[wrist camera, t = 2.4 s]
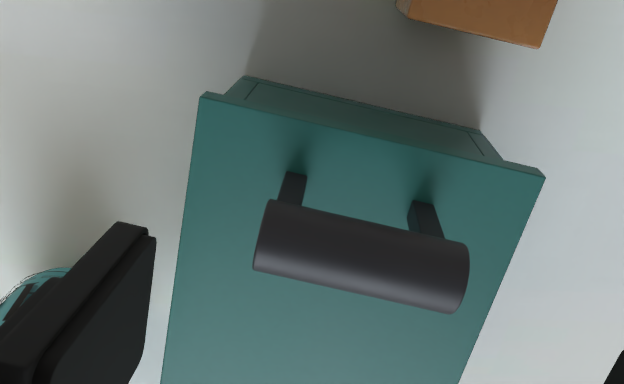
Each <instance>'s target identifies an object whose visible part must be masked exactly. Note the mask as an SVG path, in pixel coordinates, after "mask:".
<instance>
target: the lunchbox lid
mask: <svg viewBox="0 0 624 384" xmlns="http://www.w3.org/2000/svg"><path fill="white" fill-rule="evenodd" d="M545 179H546V177H545V176H544V175H543V174H542V173H541V171H540V170H539V169H538V168H534V167H530V166H526V165H521V164H517V163H513V162H508V161H504V160H500V159H496V158H491V157H487V156H483V155H478V154H474V153H470V152H466V151H461V150H457V149H453V148H448V147H444V146H440V145H436V144H431V143H427V142H423V141H419V140H414V139H410V138H406V137H401V136H397V135H393V134H389V133H384V132H380V131H376V130H371V129H367V128H363V127H359V126H354V125H350V124H346V123H341V122H337V121H333V120H329V119H324V118H320V117H316V116H311V115H307V114H303V113H299V112H294V111H290V110H286V109H282V108H277V107H273V106H269V105H264V104H260V103H256V102H252V101H247V100H243V99H239V98H234V97H230V96H226V95H222V94H217V93H213V92H209V91H206V92H205V93H204V94H202V95H201V96H200V98H199V105H198V112H197V119H196V127H195V134H194V141H193V148H192V156H191V163H190V170H189V178H188V185H187V192H186V199H185V207H184V214H183V221H182V228H181V236H180V243H179V250H178V258H177V265H176V272H175V279H174V287H173V294H172V301H171V309H170V316H169V323H168V330H167V338H166V345H165V352H164V360H163V367H162V374H161V381H160V384H458V382H459V380H460V378H461V375H462V373H463V371H464V368H465V366H466V364H467V361H468V359H469V357H470V354H471V352H472V350H473V347H474V345H475V343H476V340H477V338H478V336H479V333H480V331H481V329H482V326H483V324H484V322H485V319H486V317H487V315H488V312H489V310H490V308H491V305H492V303H493V301H494V298H495V296H496V294H497V291H498V289H499V286H500V284H501V282H502V279H503V277H504V275H505V272H506V270H507V268H508V265H509V263H510V261H511V258H512V256H513V254H514V251H515V249H516V247H517V244H518V242H519V240H520V237H521V235H522V233H523V230H524V228H525V226H526V223H527V221H528V219H529V216H530V214H531V212H532V209H533V207H534V205H535V202H536V200H537V198H538V195H539V193H540V191H541V188H542V186H543V184H544V181H545Z"/></svg>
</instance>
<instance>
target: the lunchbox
mask: <svg viewBox="0 0 624 384" xmlns="http://www.w3.org/2000/svg"><path fill="white" fill-rule="evenodd" d="M224 95H226V96H230V97H234V98H239V99H243V100H247V101H252V102H256V103H260V104H264V105H269V106H273V107H277V108H282V109H286V110H290V111H294V112H299V113H303V114H307V115H311V116H316V117H320V118H324V119H329V120H333V121H337V122H341V123H346V124H350V125H354V126H359V127H363V128H367V129H371V130H376V131H380V132H384V133H389V134H393V135H397V136H401V137H406V138H410V139H414V140H419V141H423V142H427V143H431V144H436V145H440V146H444V147H448V148H453V149H457V150H461V151H466V152H470V153H474V154H478V155H483V156H487V157H491V158H496V159H500V160H503V159H502V158H501V156H500V155H499V154H498V152H497V151H496V150H495V149H494V147H493V146H492V145H491V143H490V142H489V141H488V140H487V138H486V137H485V136H484V135H483V134H482V132H481V131H480V130H475V129H471V128H467V127H463V126H458V125H454V124H450V123H446V122H441V121H437V120H433V119H429V118H424V117H420V116H416V115H412V114H407V113H403V112H399V111H394V110H390V109H386V108H382V107H377V106H373V105H369V104H365V103H360V102H356V101H352V100H348V99H343V98H339V97H335V96H331V95H326V94H322V93H318V92H313V91H309V90H305V89H301V88H296V87H292V86H288V85H284V84H279V83H275V82H271V81H267V80H262V79H258V78H254V77H250V76H243V77H242V78H241V79H239V80H238V81H237V82H236V83H235V84H234V85H233V86H232V87H231V88H230V89H229V90H228V91H227V92H226V93H225V94H224Z"/></svg>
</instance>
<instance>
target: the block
mask: <svg viewBox="0 0 624 384" xmlns="http://www.w3.org/2000/svg"><path fill="white" fill-rule="evenodd" d="M557 1H558V0H397V2H396V8H397V9H399V10H400V11H401V12H402V13H403V14H404V15H405V16H406V17H407V18H408V19H412V20H416V21H420V22H424V23H429V24H433V25H437V26H441V27H445V28H449V29H454V30H458V31H462V32H466V33H470V34H475V35H479V36H483V37H487V38H491V39H496V40H500V41H504V42H508V43H512V44H517V45H521V46H525V47H529V48H533V49H539V48H540V46H541V43H542V41H543V38H544V35H545V33H546V30H547V28H548V25H549V22H550V20H551V17H552V14H553V12H554V9H555V7H556V4H557Z"/></svg>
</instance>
